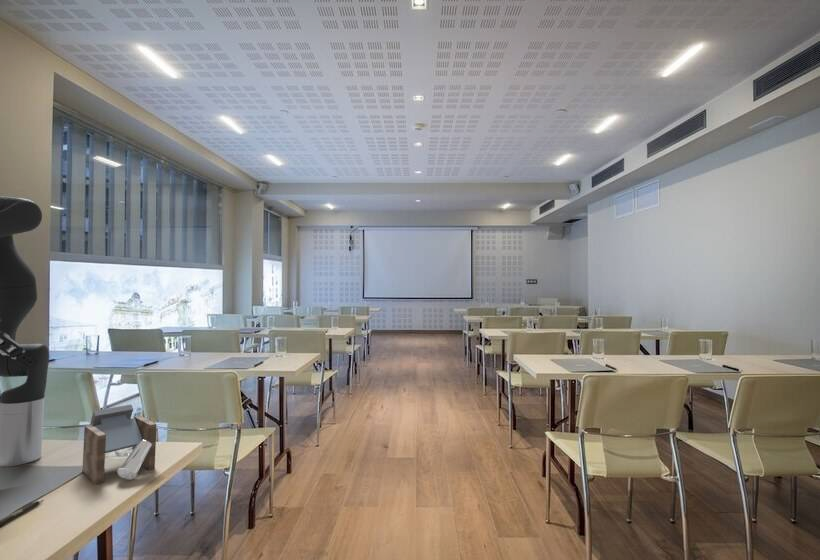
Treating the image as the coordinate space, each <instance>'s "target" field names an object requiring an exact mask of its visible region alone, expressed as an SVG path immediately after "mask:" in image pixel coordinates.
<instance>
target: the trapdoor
mask: <svg viewBox="0 0 820 560" xmlns="http://www.w3.org/2000/svg"><path fill="white" fill-rule="evenodd" d="M133 407H134V406H133V405H132V404H127V405H121V406H113V407H108V408H104V409H103V408H102V409H96V410H93V411H92V415H91V420H90V423H89V425H91V424H92V425H93V426H94V427H96V428H97V429H99V430H100V431H102V432H103V433H105V434H106V445H105V454H108V453H113V452H117V451H121V450H126V449H130V448H132V447H134V446H137V444H138V443H139V442H140V441H141V440H143V439H142V436H141V434H140V431H139V428H138V426H137V423H136V420H135V418H134V417H133V418H131V417H132V414H133V412H134V408H133Z"/></svg>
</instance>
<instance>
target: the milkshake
mask: <svg viewBox="0 0 820 560" xmlns="http://www.w3.org/2000/svg"><path fill="white" fill-rule="evenodd" d="M151 447H152V444H151V443H150V442H148V441H145V440H141V441H140V442H139V443H138V444H137V446H136V447H135V448H134V450H133V451H132V450H131V451H130V452H131V453H129V455H128V456H127V458H126V459H125V460H124V461H123V462H122V464H121V465H120V467H119V468H117V471H116V473H117V475H118V476H119V477H120V478H123V479H126V480H129V481H130V480H134V479H135V478H137V475H138V473H139V471H140V469H141V468H142V464H143V462H144V460H145V458H146V456H147V454H148V453H149V451H150V449H151Z"/></svg>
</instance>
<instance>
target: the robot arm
mask: <svg viewBox="0 0 820 560" xmlns="http://www.w3.org/2000/svg"><path fill="white" fill-rule="evenodd" d="M42 218H43V213H42V209H41V208H40V206H39V205H38V204H37V202H34V201H33V200H30V199H27V198H23V197H14V196H2V195H0V377H2V378H3V377H4V378H10V377H11V378H13V377H26V380H25V382H24V383H22V384H21V385H19V386H18V385H17V386H16V387H12V388H10V389H7V390H5V391H3V392H1V393H0V467H3V468H4V467H5V468H7V467H8V468H9V467H15V466H20V465H26V464H29V463H31V462H34V461H36V460H38V459H40V458H41V457H42V447H43V429H44V413H45V412H44V411H45V394H46V389H47V380H48V379H47V378H48V371H49V363H50V350H49V348H48V346H47V345H46V344H44V343H21V344H20V343H18V342H17V341H16V335H17V331H18V328H19V327H20V324H22V322H23V320H24V319H25V318H26V317H27V316H28V315H29V313H30V312H31V310H32V309H33V308H34V306H35V305H36V303H37V301H38V291H37V279H36V276H35V274H34V272H33V271H32V269H31V267H30V266H29V265H28V264H27V262H26V261H25V259H23V257H22V256H21V254H20V253H19V252H18V250H17V248H16V246H15V242H14V235H17V234H23V233H27V232H31V231H33V230H35V229H36V228H38V227H39V225H40V224H41V222H42Z"/></svg>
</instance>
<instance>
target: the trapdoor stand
mask: <svg viewBox="0 0 820 560" xmlns="http://www.w3.org/2000/svg"><path fill="white" fill-rule="evenodd" d="M133 418H135V420H136V423H137V426H138V428H139V431H140V434H141V436H142V439H143V440H145V441H148V442H150V443H151V444H152V447H151V449H150V451H149V453H148V454H147V456H146V458H145V460H144V462H143V464H142V466H143V468H145V469H147V471H150V470H152V469H155V467H156V446H157V442H156V441H157V423H156V422H154V421H151V420H150V419H148V418H146V417H144V416H142V415H135V416H133ZM83 432H84V433H83V449H82V450H83V453H82V469H81V470H82V472H83V473H84V474H85V475H86V476H87V477H88V478H89V479H90V480H91V481H92V482H93V483H94V484H95V485H100V484H101V485H102V484H104V482H105V464H106V453H105V445H106V434H105V433H103V432H102V431H100V430H99V429H97V428H96V427H94V426H93V425H92V424H91V425H90V424H86V425H84V430H83ZM135 447H136V446H134V447H131V448H132V450H131V452H132V451H133V450H134V448H135ZM142 466H141V467H142Z"/></svg>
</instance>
